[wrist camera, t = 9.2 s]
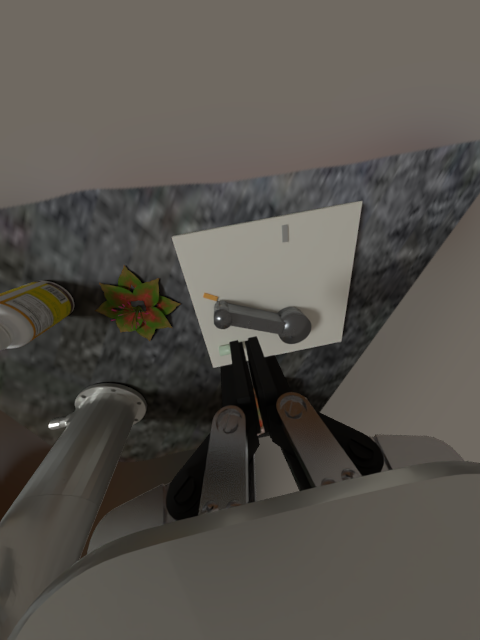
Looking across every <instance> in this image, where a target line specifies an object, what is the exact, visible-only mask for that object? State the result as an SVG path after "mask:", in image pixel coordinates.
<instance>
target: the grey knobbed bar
mask: <svg viewBox="0 0 480 640" xmlns="http://www.w3.org/2000/svg"><path fill="white" fill-rule="evenodd" d="M214 325H215V326H216V327H217V328H219V329H227V328H229V327H230V326H235V327H241V328H246V329H252V330H258V331H263V332H269V333H275V334H278V335H279V337H280V339H281V340H282V341H283V342H285V343H287V344H296V343H299V342H301V341H303V340H304V339H306V338H307V337H308V335H309V334H310V332H311V322H310V320H309V319H308V318H307V317H306V316H305V315H304V314H303V313H302V312H301V310H299V309H298V308H296V307H286V308H283V309H281V310H280V311H279V312H278V313H275V312H270V311H265V310H260V309H255V308H250V307H245V306H241V305H236V304H231V303H228V302H226V301H217V302H216V303H215V305H214Z"/></svg>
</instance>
